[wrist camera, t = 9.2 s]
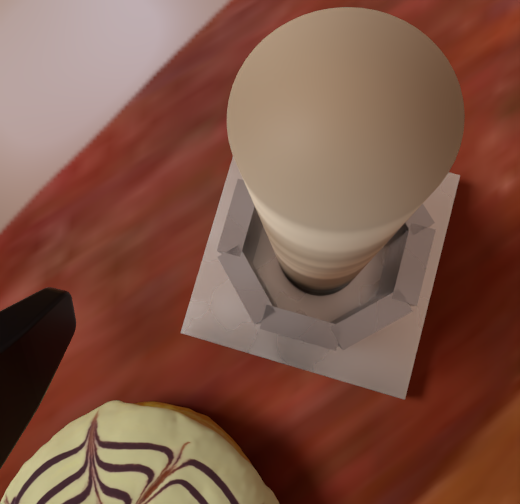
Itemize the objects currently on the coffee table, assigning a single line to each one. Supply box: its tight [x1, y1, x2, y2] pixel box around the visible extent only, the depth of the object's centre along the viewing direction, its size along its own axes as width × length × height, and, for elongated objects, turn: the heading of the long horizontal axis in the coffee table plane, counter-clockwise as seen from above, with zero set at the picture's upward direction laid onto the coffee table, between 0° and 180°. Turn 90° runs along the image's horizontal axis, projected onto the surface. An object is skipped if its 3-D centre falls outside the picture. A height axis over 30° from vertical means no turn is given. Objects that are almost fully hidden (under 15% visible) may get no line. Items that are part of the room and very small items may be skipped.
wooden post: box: [227, 7, 464, 296], centre depth 13 cm, size 3×3×13 cm
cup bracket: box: [181, 157, 460, 400], centre depth 18 cm, size 9×9×4 cm
